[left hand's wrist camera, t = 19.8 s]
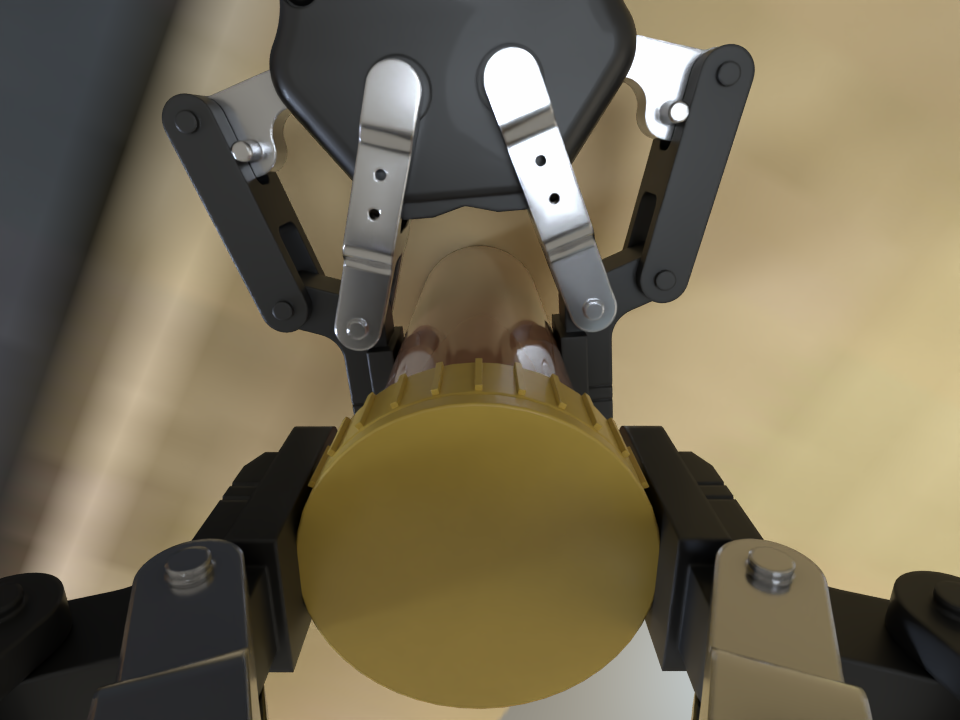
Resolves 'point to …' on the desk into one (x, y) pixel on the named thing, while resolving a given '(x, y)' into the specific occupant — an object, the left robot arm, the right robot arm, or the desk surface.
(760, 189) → the desk surface
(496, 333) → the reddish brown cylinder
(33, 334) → the desk surface
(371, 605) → the lid
